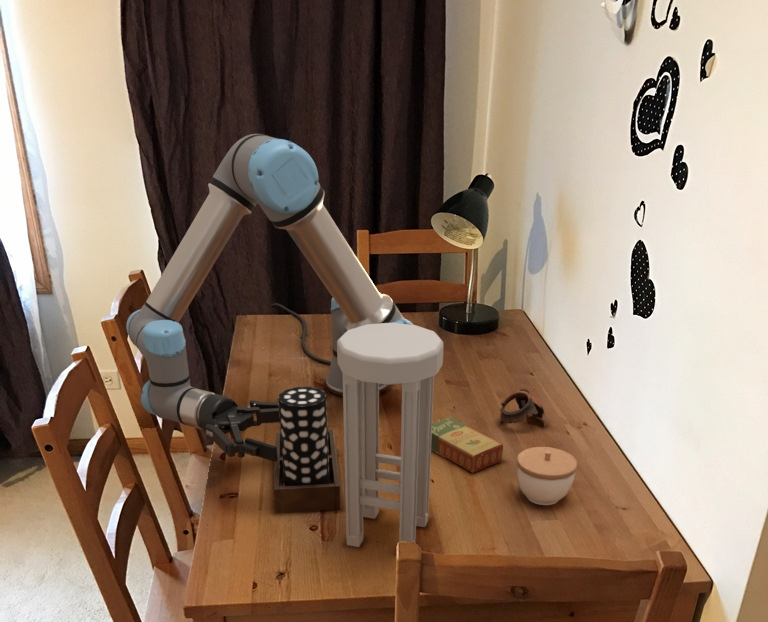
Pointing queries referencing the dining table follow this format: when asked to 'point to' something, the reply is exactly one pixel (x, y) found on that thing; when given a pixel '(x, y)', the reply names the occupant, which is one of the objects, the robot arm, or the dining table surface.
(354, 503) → the stool
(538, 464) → the trinket box
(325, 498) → the open wooden box
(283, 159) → the robot arm
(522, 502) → the dining table surface
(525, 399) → the broken clay pot
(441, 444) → the carton
